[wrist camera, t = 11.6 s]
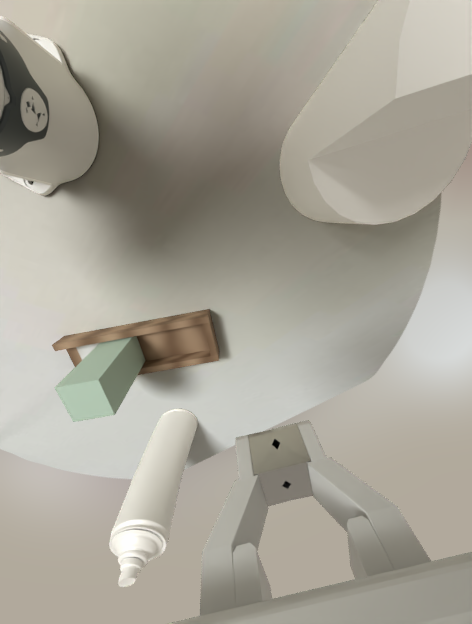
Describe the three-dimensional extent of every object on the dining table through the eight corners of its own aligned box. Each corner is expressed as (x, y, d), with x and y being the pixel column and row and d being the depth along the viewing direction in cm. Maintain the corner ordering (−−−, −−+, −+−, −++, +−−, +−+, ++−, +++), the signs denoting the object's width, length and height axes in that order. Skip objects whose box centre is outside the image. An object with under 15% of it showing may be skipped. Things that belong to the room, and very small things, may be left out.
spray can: (194, 448, 58) (173, 604, 35) (148, 445, 57) (94, 602, 34) (199, 410, 54) (178, 557, 31) (150, 405, 53) (89, 553, 30)
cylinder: (268, 114, 35) (385, -181, 9) (388, 74, 34) (918, -394, 8) (291, 235, 41) (401, 266, 15) (394, 205, 40) (704, 182, 14)
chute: (209, 309, 46) (207, 316, 42) (219, 350, 49) (218, 360, 46) (64, 336, 47) (52, 345, 43) (83, 375, 50) (73, 386, 46)
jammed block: (135, 333, 45) (98, 379, 32) (145, 360, 48) (114, 414, 34) (103, 338, 46) (54, 387, 33) (115, 366, 48) (73, 422, 35)
